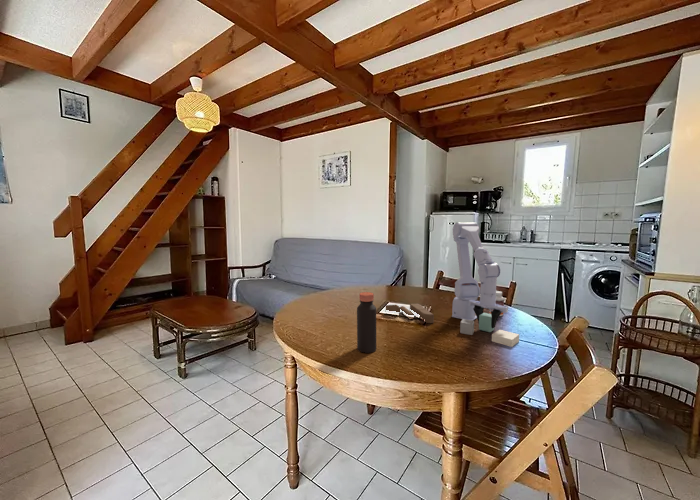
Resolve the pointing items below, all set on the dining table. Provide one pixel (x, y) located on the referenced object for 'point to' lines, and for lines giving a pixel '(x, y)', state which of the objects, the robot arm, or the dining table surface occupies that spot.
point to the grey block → (467, 326)
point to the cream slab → (505, 338)
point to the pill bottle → (498, 301)
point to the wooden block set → (416, 308)
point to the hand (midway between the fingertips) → (486, 325)
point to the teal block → (485, 322)
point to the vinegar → (366, 323)
